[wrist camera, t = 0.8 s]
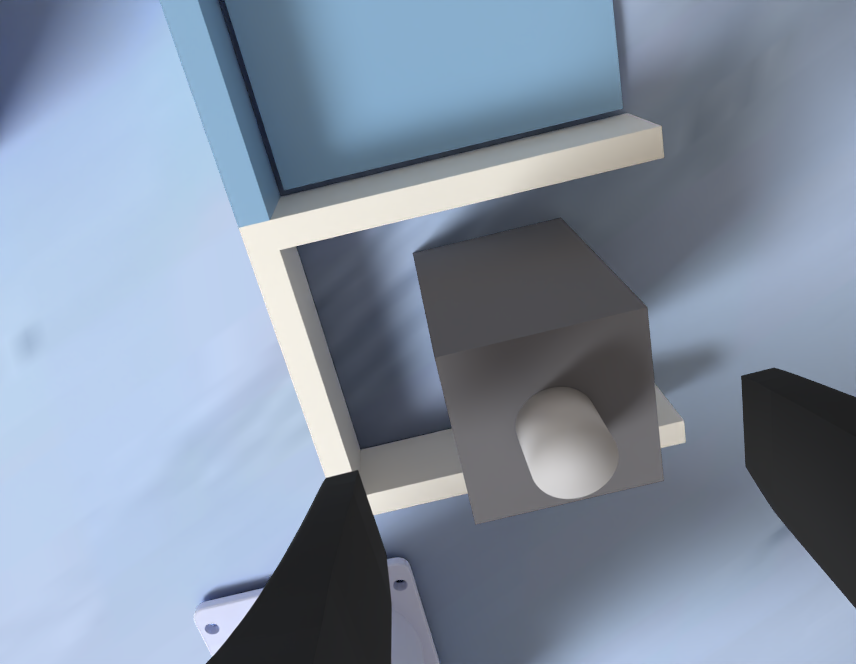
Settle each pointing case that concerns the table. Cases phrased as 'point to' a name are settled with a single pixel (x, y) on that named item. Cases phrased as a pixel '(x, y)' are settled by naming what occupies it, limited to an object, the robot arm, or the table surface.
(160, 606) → the table surface
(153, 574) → the table surface
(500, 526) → the table surface
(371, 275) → the table surface
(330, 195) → the two-rail blue tray
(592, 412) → the plug
